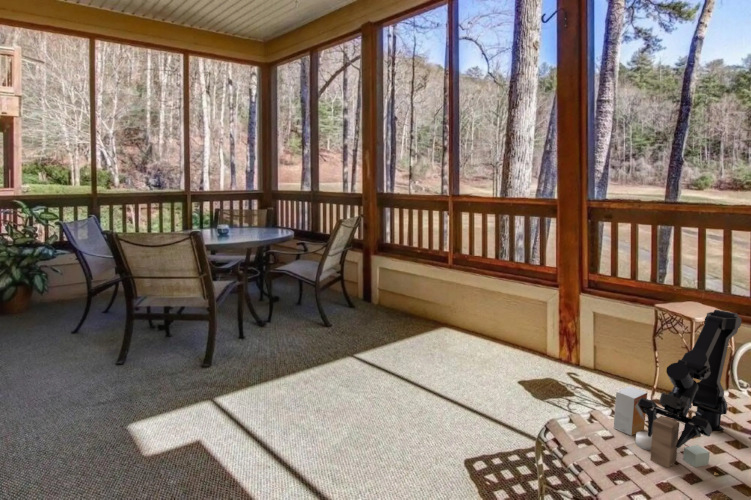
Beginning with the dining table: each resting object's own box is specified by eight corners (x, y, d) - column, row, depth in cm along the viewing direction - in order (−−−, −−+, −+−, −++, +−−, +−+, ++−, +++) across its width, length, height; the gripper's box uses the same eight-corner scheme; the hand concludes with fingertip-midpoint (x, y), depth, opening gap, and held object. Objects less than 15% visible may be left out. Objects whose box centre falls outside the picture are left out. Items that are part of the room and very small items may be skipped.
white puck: (650, 440, 156) (650, 431, 155) (661, 450, 150) (662, 441, 149) (631, 440, 155) (632, 431, 155) (642, 450, 149) (643, 441, 149)
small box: (631, 436, 158) (634, 398, 156) (612, 428, 163) (615, 391, 161) (645, 429, 162) (647, 392, 160) (626, 421, 167) (629, 385, 165)
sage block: (696, 457, 146) (697, 444, 145) (708, 464, 142) (709, 452, 141) (682, 459, 145) (683, 447, 144) (694, 467, 141) (695, 454, 140)
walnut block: (658, 454, 147) (661, 415, 146) (676, 461, 144) (679, 422, 142) (650, 460, 145) (653, 420, 143) (668, 468, 141) (671, 427, 139)
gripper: (642, 372, 150) (622, 417, 145) (711, 393, 135) (691, 443, 131) (652, 389, 156) (633, 433, 151) (720, 412, 141) (701, 460, 136)
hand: (662, 441), depth 142 cm, fingers open, 7 cm apart
